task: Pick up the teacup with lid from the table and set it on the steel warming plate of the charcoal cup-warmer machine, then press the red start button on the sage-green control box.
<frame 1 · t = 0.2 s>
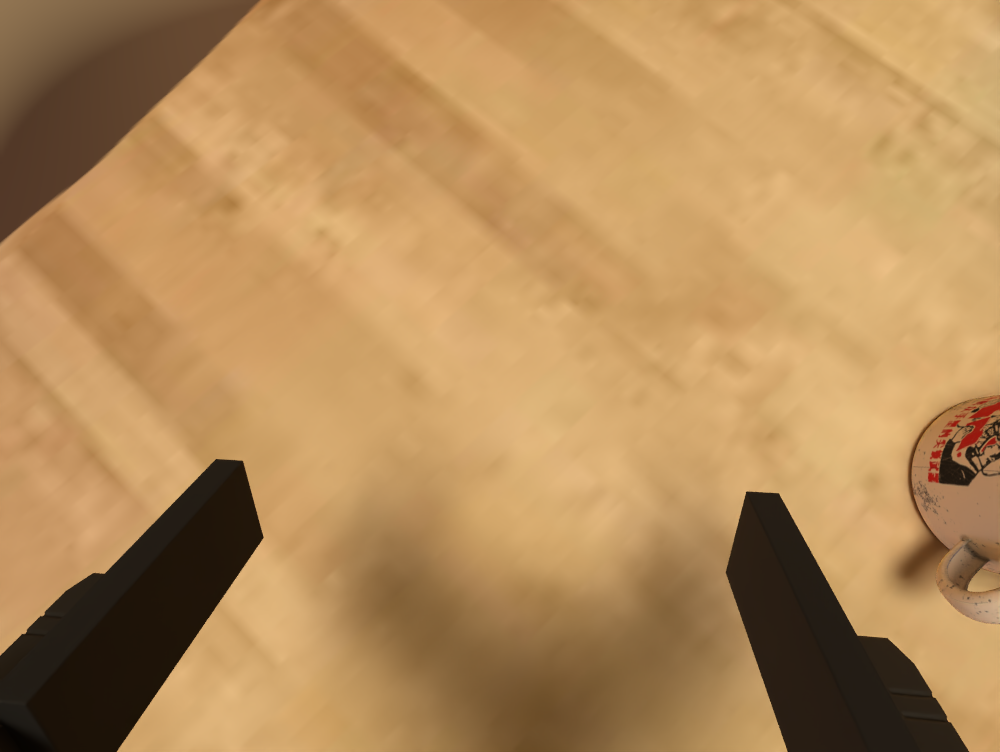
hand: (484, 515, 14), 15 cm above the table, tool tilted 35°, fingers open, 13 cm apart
teacup with lid: (975, 501, 27), on the table
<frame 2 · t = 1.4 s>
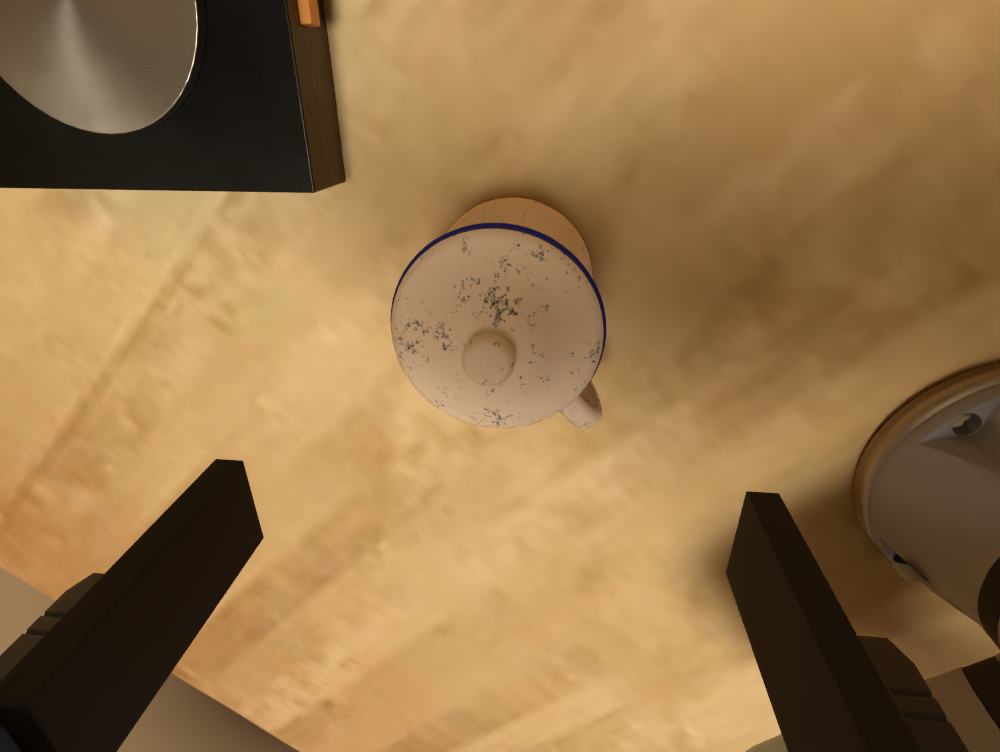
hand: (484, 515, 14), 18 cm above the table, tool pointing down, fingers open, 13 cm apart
cup warmer: (144, 5, 26), on the table
teacup with lid: (529, 294, 31), on the table
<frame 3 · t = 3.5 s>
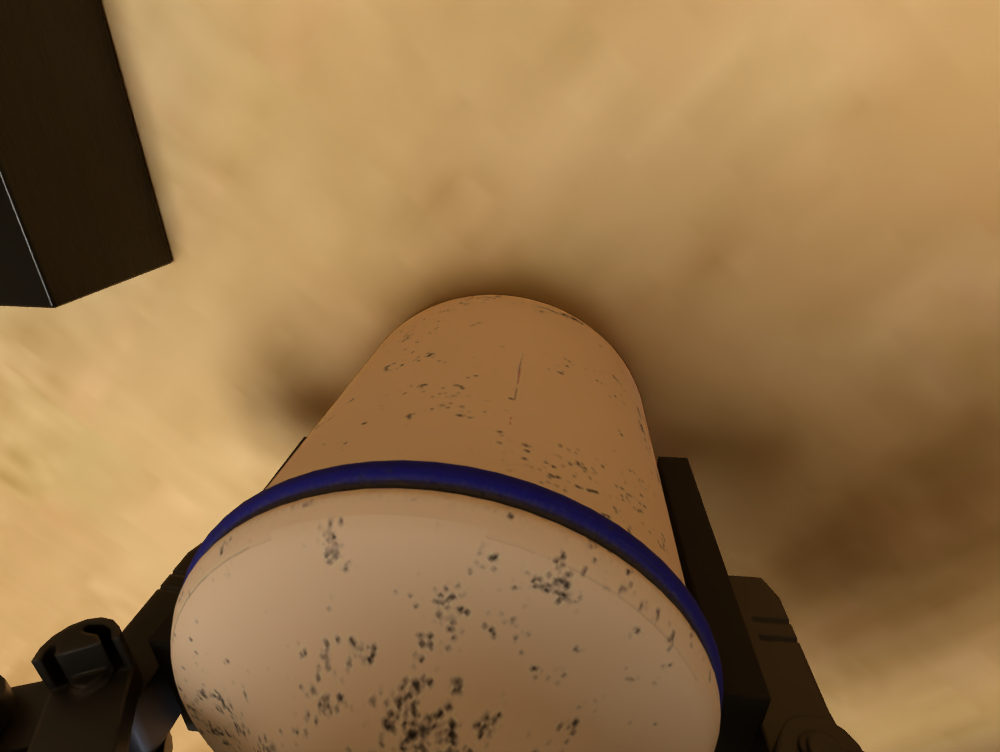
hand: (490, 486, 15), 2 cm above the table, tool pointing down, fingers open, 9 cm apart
teacup with lid: (528, 453, 17), on the table, touching gripper
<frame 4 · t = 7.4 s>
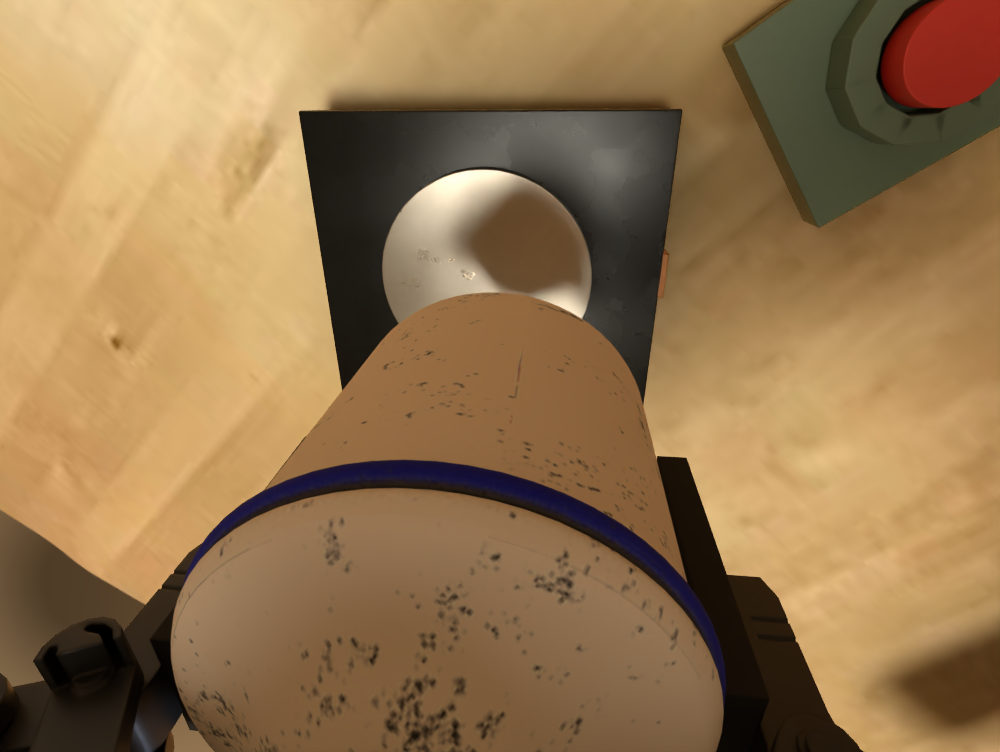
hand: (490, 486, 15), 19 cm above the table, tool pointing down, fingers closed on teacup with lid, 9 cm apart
start button: (946, 52, 22), point 4 cm above the table, slide at 0.1 cm
cup warmer: (495, 258, 32), on the table
teacup with lid: (527, 451, 17), point 17 cm above the table, touching gripper
control box: (887, 60, 26), on the table
when the fingers open (6 cm above the table, at t = 10.9 s): teacup with lid stays where it is, resting on cup warmer.
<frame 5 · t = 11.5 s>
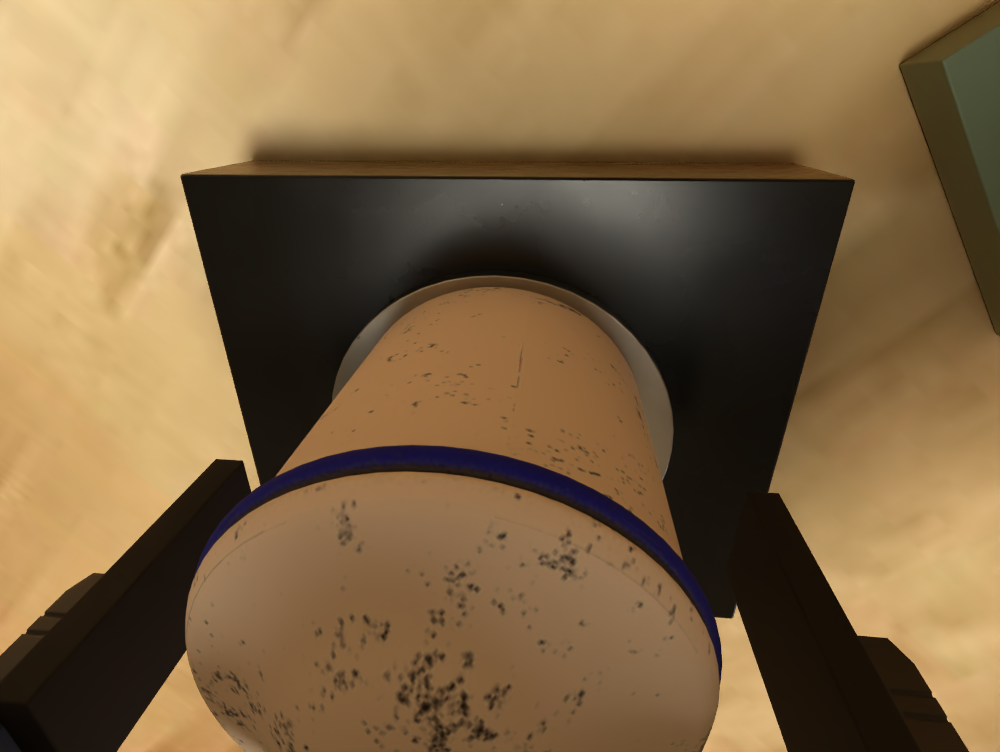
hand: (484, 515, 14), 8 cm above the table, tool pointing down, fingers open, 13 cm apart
cup warmer: (509, 377, 21), on the table
teacup with lid: (526, 443, 17), point 4 cm above the table, touching cup warmer
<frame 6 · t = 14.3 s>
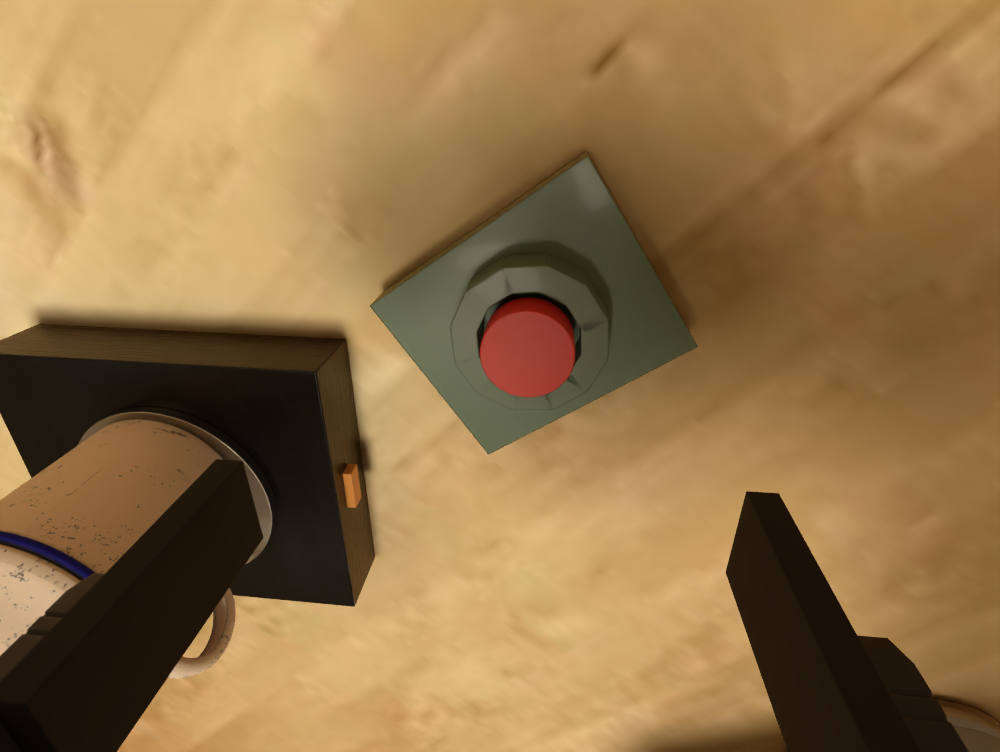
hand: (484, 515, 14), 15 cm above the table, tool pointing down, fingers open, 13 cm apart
start button: (528, 347, 23), point 4 cm above the table, slide at 0.1 cm
cup warmer: (221, 450, 33), on the table
teacup with lid: (192, 500, 29), point 4 cm above the table, touching cup warmer
control box: (533, 311, 27), on the table
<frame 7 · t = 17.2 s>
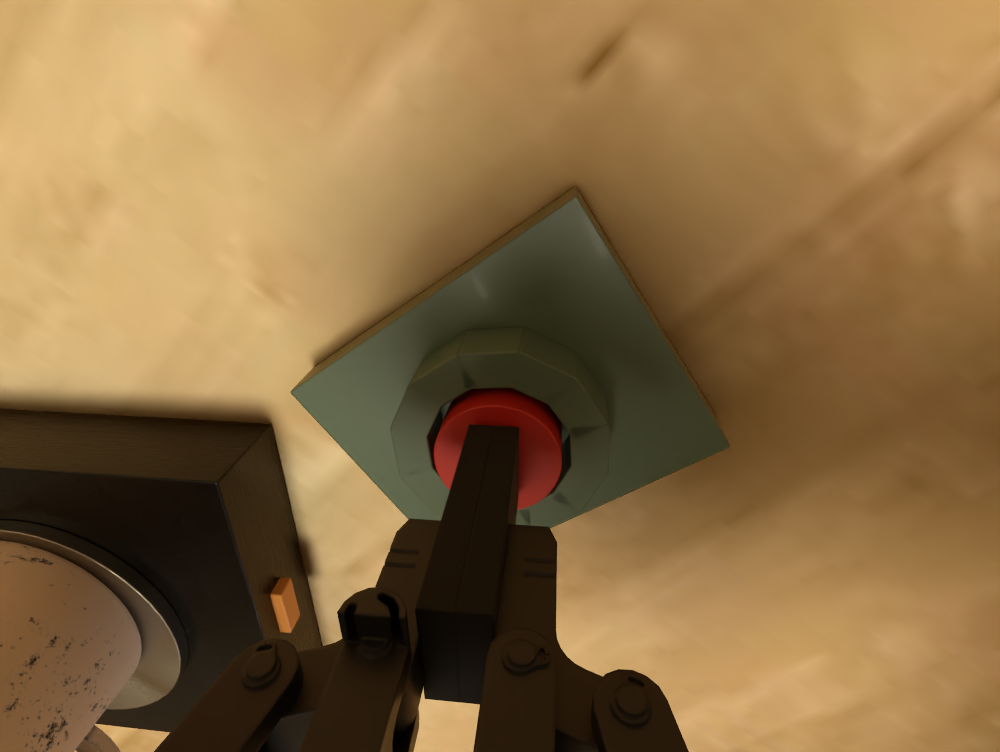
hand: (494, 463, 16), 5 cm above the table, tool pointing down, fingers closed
start button: (499, 445, 17), point 4 cm above the table, slide at -0.7 cm, touching gripper
cup warmer: (131, 550, 27), on the table
teacup with lid: (79, 629, 23), point 4 cm above the table, touching cup warmer
control box: (509, 392, 21), on the table
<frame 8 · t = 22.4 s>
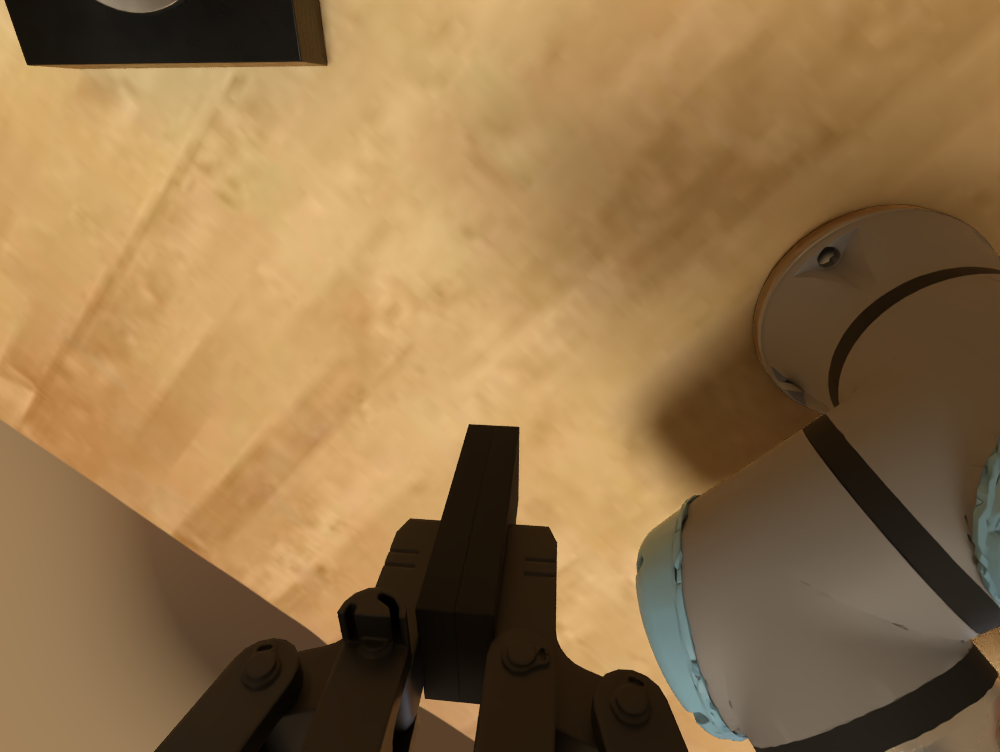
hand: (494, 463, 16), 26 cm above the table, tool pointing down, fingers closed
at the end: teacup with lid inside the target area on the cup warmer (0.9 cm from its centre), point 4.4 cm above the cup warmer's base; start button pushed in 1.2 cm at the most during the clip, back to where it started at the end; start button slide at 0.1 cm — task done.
